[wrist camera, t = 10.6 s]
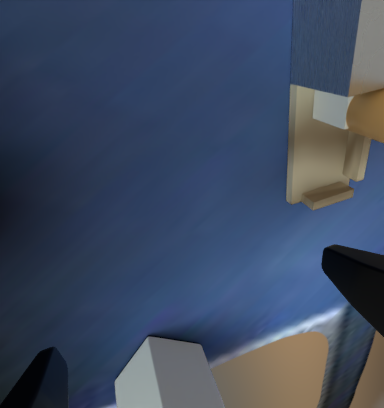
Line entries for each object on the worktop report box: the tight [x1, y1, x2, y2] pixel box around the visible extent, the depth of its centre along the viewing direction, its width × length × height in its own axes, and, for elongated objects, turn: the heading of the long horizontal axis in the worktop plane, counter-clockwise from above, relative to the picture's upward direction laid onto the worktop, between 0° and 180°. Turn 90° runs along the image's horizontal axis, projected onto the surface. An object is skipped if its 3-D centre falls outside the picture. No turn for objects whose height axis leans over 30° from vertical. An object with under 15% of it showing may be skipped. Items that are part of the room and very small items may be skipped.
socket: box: [290, 0, 384, 97], centre depth 17 cm, size 6×6×6 cm
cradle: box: [286, 84, 371, 210], centre depth 23 cm, size 10×6×2 cm, turn 8°
